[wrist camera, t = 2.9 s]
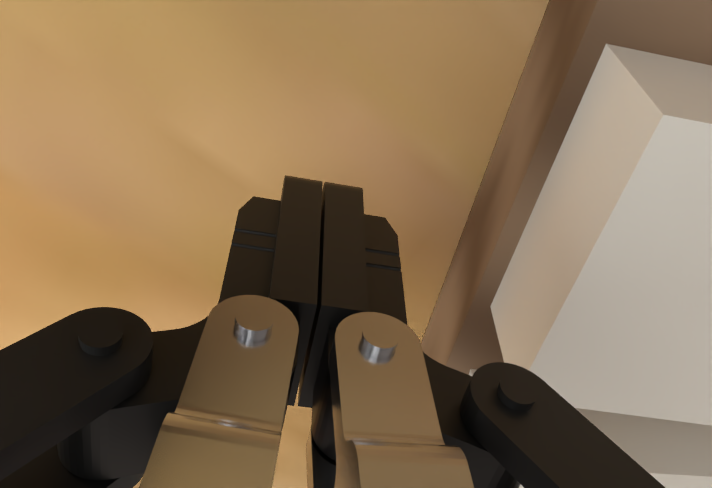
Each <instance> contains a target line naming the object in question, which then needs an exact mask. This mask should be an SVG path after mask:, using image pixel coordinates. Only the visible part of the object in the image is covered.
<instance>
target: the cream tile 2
mask: <svg viewBox="0 0 712 488" xmlns="http://www.w3.org/2000/svg"><path fill="white" fill-rule="evenodd" d="M476 370H477V369H470V372H469V375H470V376H473V374H474V372H475V371H476ZM575 409H576V410H578V411H579V412H580V413H581V414H582V415H583V416H584V417H586V418H587V419H588V420H589V421H590V422H591V423H592V424H594V425H595V426H596V427H597V428H598V429H599V430H600V431H602V432H603V433H604V434H605V435H606V436H607V437H608V438H609V439H611V440H612V441H613V442H614V443H615V444H616V445H617V446H619V447H620V448H621V449H622V450H623V451H624V452H625V453H627V454H628V455H629V456H630V457H631V458H632V459H633V460H635V461H636V462H637V463H638V464H639V465H640V466H641V467H643V468H644V469H645V470H646V471H647V472H648V473H649V474H651V475H652V476H653V477H654V478H655V479H656V480H657V481H658V482H660V483H661V484H662V485H663V486H664V487H665V488H712V426H710V425H703V424H695V423H687V422H680V421H672V420H665V419H657V418H649V417H642V416H634V415H626V414H619V413H611V412H603V411H596V410H588V409H580V408H575ZM519 488H524V487H523V486H522V485H520V486H519Z"/></svg>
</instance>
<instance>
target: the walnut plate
mask: <svg viewBox="0 0 712 488" xmlns="http://www.w3.org/2000/svg"><path fill="white" fill-rule="evenodd" d="M606 44H610V45H615V46H620V47H625V48H629V49H634V50H639V51H644V52H649V53H654V54H658V55H663V56H668V57H673V58H678V59H682V60H687V61H692V62H697V63H702V64H707V65H711V66H712V0H550V1H549V3H548V6H547V9H546V11H545V14H544V17H543V19H542V22H541V25H540V27H539V30H538V33H537V35H536V38H535V41H534V43H533V46H532V49H531V51H530V54H529V57H528V59H527V62H526V65H525V67H524V70H523V73H522V75H521V78H520V81H519V83H518V86H517V89H516V92H515V94H514V97H513V100H512V102H511V105H510V108H509V110H508V113H507V116H506V118H505V121H504V124H503V126H502V129H501V132H500V134H499V137H498V140H497V142H496V145H495V148H494V150H493V153H492V156H491V158H490V161H489V164H488V166H487V169H486V172H485V174H484V177H483V180H482V182H481V185H480V188H479V190H478V193H477V196H476V198H475V201H474V204H473V206H472V209H471V212H470V214H469V217H468V220H467V222H466V225H465V228H464V230H463V233H462V236H461V238H460V241H459V244H458V246H457V249H456V252H455V254H454V257H453V260H452V262H451V265H450V268H449V271H448V273H447V276H446V279H445V281H444V284H443V287H442V289H441V292H440V295H439V297H438V300H437V303H436V305H435V308H434V311H433V313H432V316H431V319H430V321H429V324H428V327H427V329H426V332H425V335H424V337H423V340H422V343H421V346H422V351H423V352H424V353H425V354H426V355H428V356H429V357H430V358H432V359H434V360H435V361H437V362H439V363H441V364H443V365H445V366H447V367H450V368H452V369H455V370H458V371H460V372H463V373H465V374H468V375H469V372H470V369H478V368H480V367H481V366H483V365H486V364H489V363H493V362H504V360H503V356H502V352H501V348H500V344H499V340H498V336H497V332H496V328H495V323H494V319H493V315H492V311H491V307H490V306H491V304H492V302H493V299H494V297H495V295H496V293H497V290H498V288H499V286H500V283H501V281H502V279H503V277H504V274H505V272H506V270H507V268H508V265H509V263H510V261H511V258H512V256H513V254H514V252H515V249H516V247H517V245H518V243H519V240H520V238H521V236H522V233H523V231H524V229H525V227H526V224H527V222H528V220H529V218H530V215H531V213H532V211H533V209H534V206H535V204H536V202H537V199H538V197H539V195H540V193H541V190H542V188H543V186H544V184H545V181H546V179H547V177H548V174H549V172H550V170H551V168H552V165H553V163H554V161H555V159H556V156H557V154H558V152H559V149H560V147H561V145H562V143H563V140H564V138H565V136H566V134H567V131H568V129H569V127H570V124H571V122H572V120H573V118H574V115H575V113H576V111H577V109H578V106H579V104H580V102H581V100H582V97H583V95H584V93H585V90H586V88H587V86H588V84H589V81H590V79H591V77H592V75H593V72H594V70H595V68H596V65H597V63H598V61H599V59H600V56H601V54H602V52H603V50H604V47H605V45H606Z"/></svg>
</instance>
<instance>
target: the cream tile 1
mask: <svg viewBox="0 0 712 488" xmlns="http://www.w3.org/2000/svg"><path fill="white" fill-rule="evenodd" d="M490 307H491V311H492V315H493V319H494V323H495V328H496V332H497V336H498V340H499V344H500V348H501V352H502V356H503V360H504V363H510V364H515V365H518V366H520V367H523V368H525V369H527V370H529V371H531V372H533V373H534V374H536V375H537V376H538V377H540V378H541V379H542V380H543V381H545V382H546V383H547V384H548V385H549V386H550V387H551V388H553V389H554V390H555V391H556V392H557V393H558V394H559V395H560V396H562V397H563V398H564V399H565V400H566V401H567V402H568V403H570V404H571V405H572V406H573V407H574V408H580V409H588V410H596V411H603V412H611V413H619V414H626V415H634V416H642V417H649V418H657V419H665V420H672V421H680V422H687V423H695V424H703V425H710V426H712V66H711V65H707V64H702V63H697V62H692V61H687V60H682V59H678V58H673V57H668V56H663V55H658V54H654V53H649V52H644V51H639V50H634V49H629V48H625V47H620V46H615V45H610V44H606V45H605V47H604V50H603V52H602V54H601V56H600V59H599V61H598V63H597V65H596V68H595V70H594V72H593V75H592V77H591V79H590V81H589V84H588V86H587V88H586V90H585V93H584V95H583V97H582V100H581V102H580V104H579V106H578V109H577V111H576V113H575V115H574V118H573V120H572V122H571V124H570V127H569V129H568V131H567V134H566V136H565V138H564V140H563V143H562V145H561V147H560V149H559V152H558V154H557V156H556V159H555V161H554V163H553V165H552V168H551V170H550V172H549V174H548V177H547V179H546V181H545V184H544V186H543V188H542V190H541V193H540V195H539V197H538V199H537V202H536V204H535V206H534V209H533V211H532V213H531V215H530V218H529V220H528V222H527V224H526V227H525V229H524V231H523V233H522V236H521V238H520V240H519V243H518V245H517V247H516V249H515V252H514V254H513V256H512V258H511V261H510V263H509V265H508V268H507V270H506V272H505V274H504V277H503V279H502V281H501V283H500V286H499V288H498V290H497V293H496V295H495V297H494V299H493V302H492V304H491V306H490Z"/></svg>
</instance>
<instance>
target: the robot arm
mask: <svg viewBox="0 0 712 488" xmlns="http://www.w3.org/2000/svg"><path fill="white" fill-rule="evenodd" d="M400 271H401V264H400V257H399V246H398V236H397V234H396V233H395V231H394V230H393V228H392V227H391V225H390V224H389V223H388V221H387V220H386V218H384V217H378V216H372V215H365V214H364V207H363V189H362V188H359V187H353V186H347V185H341V184H335V183H329V182H325V183H324V186H323V190H322V181H316V180H310V179H304V178H298V177H292V176H286V175H285V178H284V183H283V189H282V195H281V201H278V200H272V199H266V198H260V197H252V198H251V199H250V200H249V201H248V202H247V203H246V204H245V205H244V206H243V207H242V208H241V209H240V210H239V212H238V216H237V221H236V226H235V231H234V235H233V239H232V245H231V249H230V253H229V258H228V262H227V267H226V271H225V276H224V281H223V285H222V290H221V294H220V299H219V302H218V304H217V305H216V306H215V307H214V308H213V309H212V311H211V312H210V314H209V316H207V317H206V318H205V319H203V320H202V321H200V322H198V323H196V324H194V325H191V326H188V327H185V328H181V329H174V330H166V331H157V332H151V329H150V328H149V326H148V325H147V323H146V322H145V321H144V320H143V319H141V318H140V317H138V316H137V315H135V314H133V313H131V312H129V311H126V310H122V309H118V308H110V307H98V308H90V309H85V310H82V311H79V312H76V313H74V314H71V315H69V316H67V317H65V318H63V319H61V320H59V321H57V322H55V323H53V324H51V325H49V326H47V327H46V328H44V329H42V330H40V331H38V332H36V333H34V334H32V335H30V336H28V337H26V338H24V339H22V340H20V341H18V342H16V343H14V344H12V345H10V346H8V347H6V348H4V349H2V350H0V488H133V487H134V486H135V485H136V484H137V483H138V482H139V481H140V479H141V478H142V477H143V478H142V481H141V484H140V486H139V488H272V484H273V478H274V473H275V467H276V462H277V456H278V451H279V445H280V439H281V431H282V428H283V423H284V419H285V414H286V410H287V405H292V406H294V403H295V399H296V394H297V390H298V386H299V396H298V406H302V407H310V408H312V425H311V429H310V432H309V436H308V440H307V444H306V461H307V488H519V486H520V485H522V486H523V487H524V488H665V487H664V486H663V485H662V484H661V483H660V482H658V481H657V480H656V479H655V478H654V477H653V476H652V475H651V474H649V473H648V472H647V471H646V470H645V469H644V468H643V467H641V466H640V465H639V464H638V463H637V462H636V461H635V460H633V459H632V458H631V457H630V456H629V455H628V454H627V453H625V452H624V451H623V450H622V449H621V448H620V447H619V446H617V445H616V444H615V443H614V442H613V441H612V440H611V439H609V438H608V437H607V436H606V435H605V434H604V433H603V432H602V431H600V430H599V429H598V428H597V427H596V426H595V425H594V424H592V423H591V422H590V421H589V420H588V419H587V418H586V417H584V416H583V415H582V414H581V413H580V412H579V411H578V410H576V409H575V408H574V407H573V406H572V405H571V404H570V403H568V402H567V401H566V400H565V399H564V398H563V397H562V396H560V395H559V394H558V393H557V392H556V391H555V390H554V389H553V388H551V387H550V386H549V385H548V384H547V383H546V382H545V381H543V380H542V379H541V378H540V377H538V376H537V375H536V374H534V373H533V372H531V371H529V370H527V369H525V368H523V367H520V366H518V365H515V364H510V363H504V362H493V363H489V364H486V365H483V366H481V367H480V368H478V369H477V370H476V371H475V372H474V374H473V376H470V375H468V374H465V373H463V372H460V371H458V370H455V369H452V368H450V367H447V366H445V365H443V364H441V363H439V362H437V361H435V360H434V359H432V358H430V357H429V356H428V355H426V354H425V353H424V352H423V351H422V346H421V343H420V340H419V339H418V337H417V335H416V334H415V333H414V331H413V330H412V329H411V328H410V327H408V326H407V318H406V309H405V300H404V291H403V282H402V273H401V272H400Z"/></svg>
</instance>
